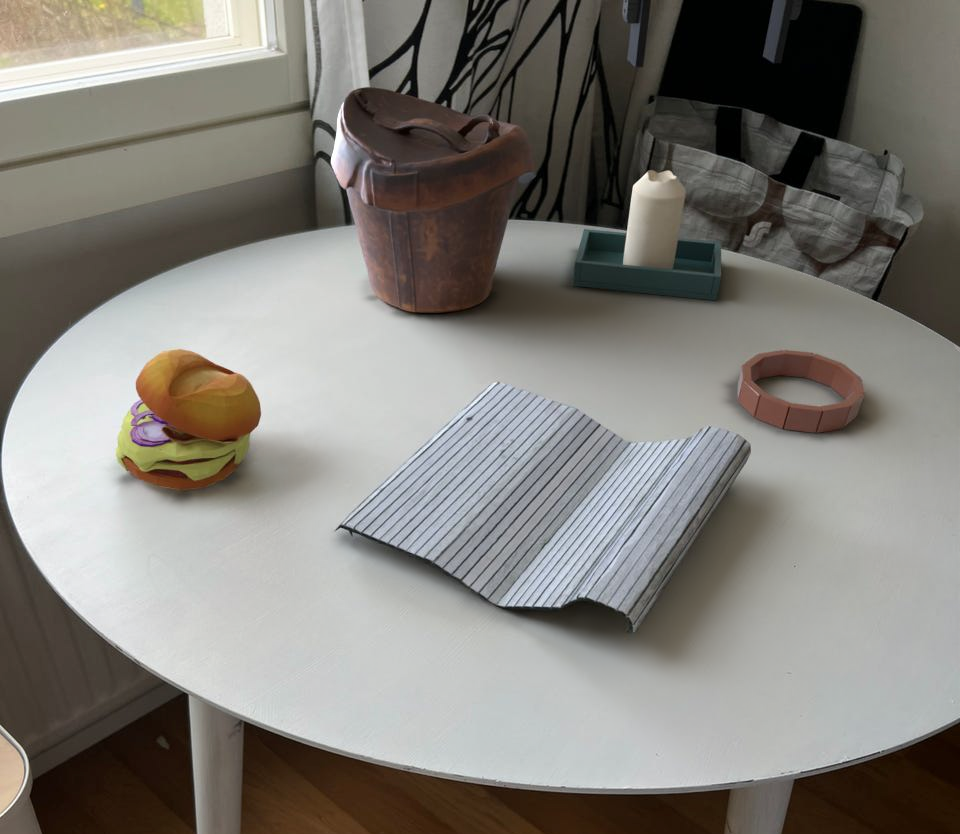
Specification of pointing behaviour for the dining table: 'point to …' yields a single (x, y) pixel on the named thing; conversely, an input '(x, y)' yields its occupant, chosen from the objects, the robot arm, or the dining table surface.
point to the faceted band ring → (799, 414)
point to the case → (428, 195)
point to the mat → (551, 504)
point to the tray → (688, 278)
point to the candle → (654, 220)
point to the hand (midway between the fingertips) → (704, 62)
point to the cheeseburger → (187, 422)
